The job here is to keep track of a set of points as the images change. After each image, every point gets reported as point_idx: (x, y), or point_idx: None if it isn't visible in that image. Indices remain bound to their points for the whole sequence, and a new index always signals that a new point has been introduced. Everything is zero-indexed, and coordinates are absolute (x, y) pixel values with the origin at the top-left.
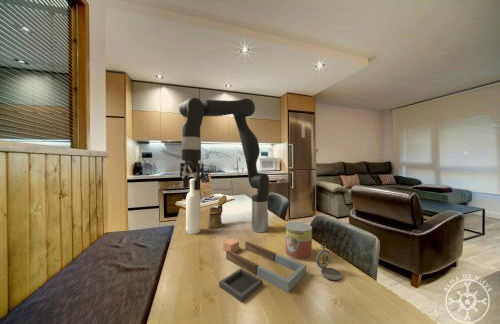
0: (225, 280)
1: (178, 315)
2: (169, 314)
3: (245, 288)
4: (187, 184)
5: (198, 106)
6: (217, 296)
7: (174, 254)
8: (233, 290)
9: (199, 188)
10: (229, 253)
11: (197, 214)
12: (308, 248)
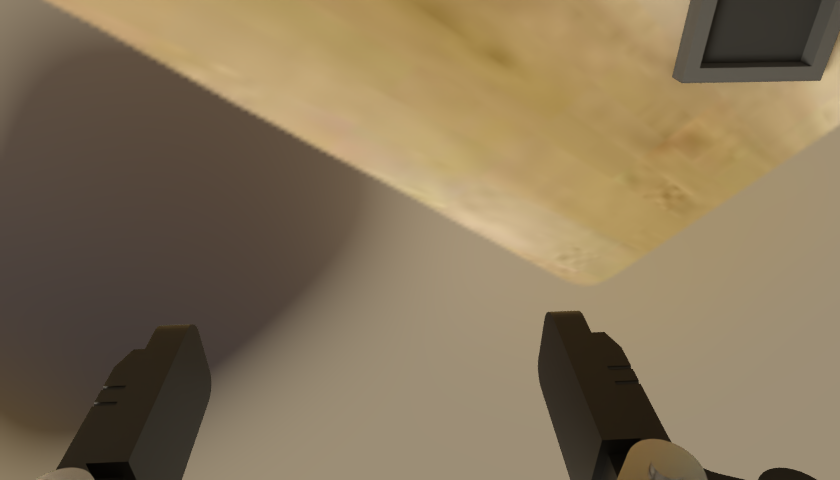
0: (702, 56)
1: (642, 243)
2: (615, 258)
3: (794, 5)
4: (179, 379)
5: None
6: (701, 118)
7: (247, 86)
8: (772, 77)
9: (582, 327)
10: None
11: None
12: None
